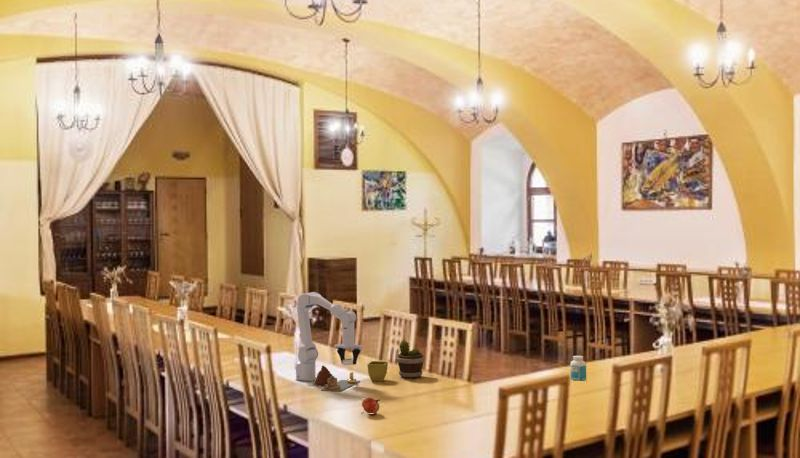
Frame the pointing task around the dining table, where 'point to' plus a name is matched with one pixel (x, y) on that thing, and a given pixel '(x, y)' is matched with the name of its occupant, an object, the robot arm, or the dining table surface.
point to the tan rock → (332, 383)
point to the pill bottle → (578, 369)
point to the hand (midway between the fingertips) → (348, 363)
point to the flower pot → (377, 370)
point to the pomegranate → (370, 405)
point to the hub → (351, 379)
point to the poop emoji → (323, 377)
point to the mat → (341, 386)
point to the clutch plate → (347, 361)
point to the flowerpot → (409, 361)
